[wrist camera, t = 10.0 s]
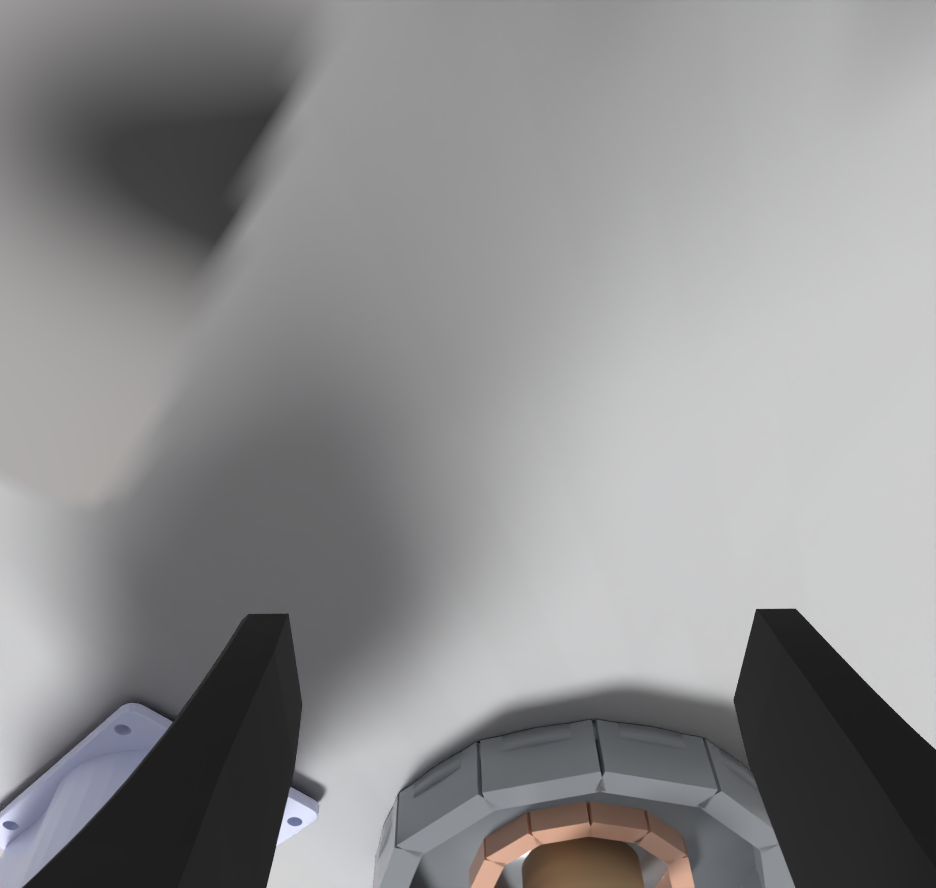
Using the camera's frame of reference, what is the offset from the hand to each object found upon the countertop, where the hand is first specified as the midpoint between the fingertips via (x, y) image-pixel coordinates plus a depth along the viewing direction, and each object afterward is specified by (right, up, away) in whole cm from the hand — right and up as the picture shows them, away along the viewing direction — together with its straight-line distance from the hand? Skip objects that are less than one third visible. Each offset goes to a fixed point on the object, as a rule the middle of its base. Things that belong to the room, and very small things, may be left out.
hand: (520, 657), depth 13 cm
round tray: (+3, -12, +19) cm, 23 cm away
